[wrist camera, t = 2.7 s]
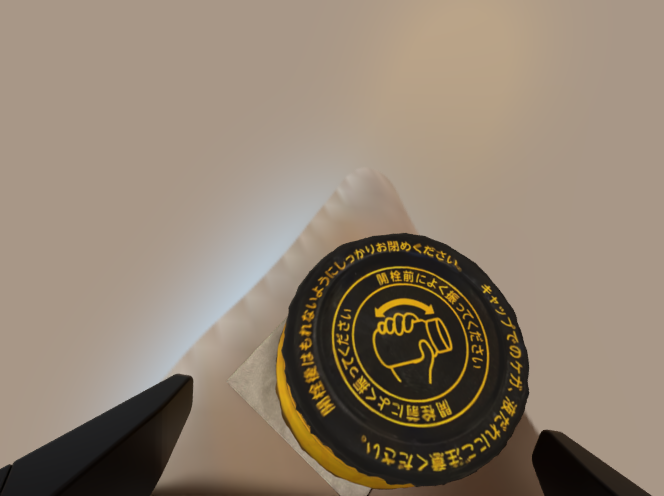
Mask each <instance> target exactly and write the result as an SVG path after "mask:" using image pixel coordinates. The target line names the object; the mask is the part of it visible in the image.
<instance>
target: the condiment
mask: <svg viewBox="0 0 664 496" xmlns="http://www.w3.org/2000/svg"><path fill="white" fill-rule="evenodd" d="M528 375H529V362H528V354H527V350H526V347H525V345H524V341H523V336H522V333H521V330H520V328H519V325H518V323H517V317H516V314H515V312H514V310H513V308H512V307H511V305H510V304H509V303H508V302H507V300H506V299H505V297H504V295H503V294H502V293H501V291H500V290H499V289H498V288H497V286H496V285H495V284H494V283H493V282H492V281H491V279H490V278H489V277H488V275H487V274H486V273H485V272H484V271H483V270H482V269H481V268H480V267H479V266H478V265H477V264H476V263H474V262H473V261H471V260H470V259H468V258H467V257H465V256H464V255H462V254H460V253H459V252H457V251H456V250H454V249H452V248H451V247H449V246H448V245H446V244H444V243H441V242H438V241H435V240H433V239H430V238H428V237H426V236H420V235H413V234H408V233H401V234H389V235H381V236H372V237H368V238H364V239H361V240H357V241H353V242H349V243H346V244H343V245H341V246H339V247H337V248H336V249H335V250H334V251H332V252H331V253H329V254H328V255H327V256H325V257H324V258H323V259H322V260H321V261H320V262H319V263H318V264H317V265H316V266H315V267H314V268H313V269H312V270H311V271H310V272H309V274H308V275H307V276H306V278H305V279H304V280H303V281H302V283H301V284H300V285H299V287H298V289H297V292H296V295H295V297H294V298H293V300H292V302H291V304H290V306H289V314H288V316H287V317H286V318H285V320H284V321H283V322H282V323H281V324H280V325H279V326H278V327H277V328H276V329H275V330H274V331H273V332H272V333H271V335H270V337H268V338H267V339H266V340H265V341H264V342H263V343H262V344H261V345H260V346H259V347H258V348H257V349H256V350H255V351H254V352H253V353H252V355H251V356H250V357H249V358H248V359H247V360H246V361H245V362H244V363H243V364H242V365H241V366H240V367H239V368H238V369H237V370H236V371H235V372H234V374H233V375H232V376H231V377H230V378H229V379H228V380H227V383H228V384H229V385H230V386H231V387H232V388H233V389H234V390H235V391H236V392H237V393H238V394H239V395H240V396H241V397H242V398H243V399H244V400H245V401H246V402H247V403H248V404H249V405H250V406H251V407H252V408H253V409H254V410H255V411H256V412H257V413H259V414H260V415H261V416H262V417H263V419H264V420H265V421H266V422H267V423H268V424H269V425H270V426H271V427H272V428H273V429H274V430H275V431H276V432H277V433H278V434H279V435H280V436H281V437H282V438H283V439H284V440H285V441H286V442H287V443H288V444H289V445H290V446H291V447H292V448H293V449H294V450H295V451H296V452H297V453H298V454H299V455H300V456H301V457H302V458H303V459H304V460H305V461H306V462H307V463H308V464H309V465H310V466H311V467H312V468H313V469H314V470H315V471H316V472H317V473H318V474H319V475H320V476H321V477H322V478H323V479H324V480H325V481H326V482H327V483H328V484H329V485H330V486H331V487H332V488H333V489H334V490H335V491H336V492H337V493H338V494H339V495H340V496H367V494H368V493H369V491H370V489H371V488H373V489H386V490H387V489H396V488H408V487H413V486H415V487H419V486H436V485H441V484H442V485H444V484H446V483H448V482H451V481H455V480H459V479H462V478H464V477H466V476H469V475H471V474H473V473H475V472H477V470H478V469H479V468H481V467H482V466H484V465H485V464H487V463H488V462H490V461H491V460H492V459H493V458H494V457H495V456H497V455H499V453H500V452H501V451H502V449H503V448H504V447H505V446H506V444H507V441H508V440H509V438H510V437H511V436H512V434H513V432H514V430H515V427H516V426H517V424H518V423H519V421H520V419H521V417H522V415H523V413H524V411H525V405H526V402H527V398H528V395H529V388H528V382H527V381H528Z"/></svg>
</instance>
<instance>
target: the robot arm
mask: <svg viewBox="0 0 664 496" xmlns="http://www.w3.org/2000/svg"><path fill="white" fill-rule="evenodd" d="M192 402H193V378H192V377H191V376H189V375H182V374H175V375H173V376H171V377H169V378H167V379H166V380H164V381H162V382H160V383H158V384H156V385H155V386H153V387H151V388H149V389H147V390H145V391H143V392H142V393H140V394H138V395H136V396H134V397H132V398H131V399H129V400H127V401H125V402H123V403H122V404H119V405H118V406H116V407H114V408H112V409H110V410H108V411H107V412H105V413H103V414H101V415H99V416H97V417H95V418H94V419H92V420H90V421H88V422H86V423H84V424H83V425H81V426H79V427H77V428H75V429H74V430H72V431H70V432H68V433H66V434H64V435H62V436H61V437H59V438H57V439H55V440H53V441H51V442H49V443H48V444H46V445H44V446H42V447H40V448H39V449H36V450H35V451H33V452H31V453H29V454H27V455H25V456H24V457H22V458H20V459H18V460H16V461H15V462H14V463H13V465H10V464H9V465H7V466H5V467H3V468H1V469H0V496H150V495H151V493H152V491H153V490H154V488H155V486H156V484H157V482H158V481H159V479H160V477H161V475H162V473H163V471H164V469H165V467H166V465H167V462H168V460H169V458H170V456H171V454H172V451H173V449H174V447H175V445H176V442H177V440H178V438H179V436H180V434H181V431H182V429H183V427H184V425H185V423H186V420H187V418H188V416H189V414H190V411H191V408H192ZM532 463H533V467H534V469H535V472H536V475H537V477H538V480H539V483H540V485H541V488H542V491H543V493H544V496H651V495H650V494H649V493H647V492H646V491H644V490H643V489H641V488H640V487H639V486H637V485H636V484H634V483H633V482H631V481H630V480H629V479H627V478H626V477H624V476H623V475H621V474H620V473H619V472H617V471H616V470H614V469H613V468H612V467H610V466H609V465H607V464H606V463H604V462H603V461H601V460H600V459H599V458H597V457H596V456H595V455H593V454H592V453H590V452H589V451H587V450H586V449H585V448H583V447H582V446H580V445H579V444H577V443H576V442H575V441H573V440H572V439H570V438H569V437H567V436H566V435H565V434H563V433H561V432H558V431H552V430H543V431H542V432H541V433H540V435H539V438H538V441H537V443H536V446H535V448H534V451H533V454H532Z"/></svg>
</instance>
